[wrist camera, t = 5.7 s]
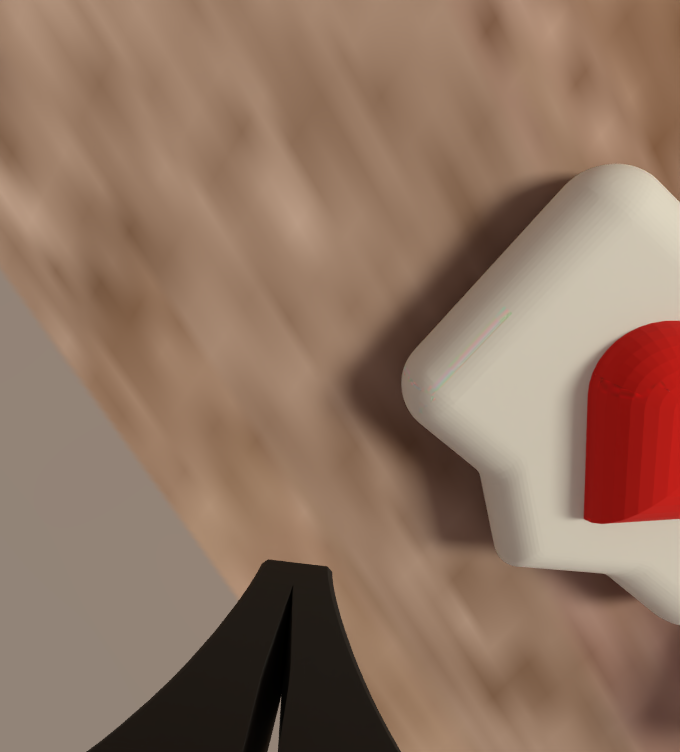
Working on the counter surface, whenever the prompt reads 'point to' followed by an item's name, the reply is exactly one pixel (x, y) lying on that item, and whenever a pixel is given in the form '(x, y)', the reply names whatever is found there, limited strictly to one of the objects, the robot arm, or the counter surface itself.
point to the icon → (572, 386)
